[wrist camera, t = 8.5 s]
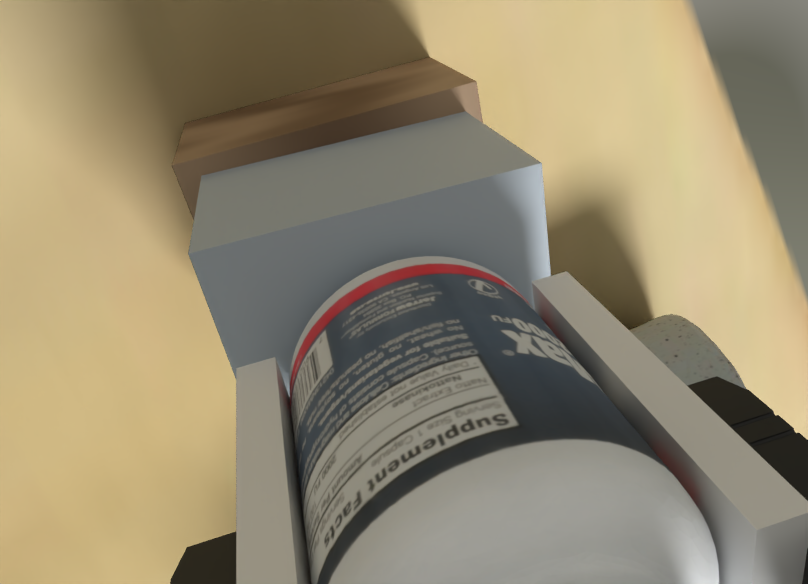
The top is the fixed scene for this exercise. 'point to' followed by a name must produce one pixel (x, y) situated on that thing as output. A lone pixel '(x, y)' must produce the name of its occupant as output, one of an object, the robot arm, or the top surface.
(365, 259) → the tower top
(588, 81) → the top surface
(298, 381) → the pill bottle
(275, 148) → the tower base
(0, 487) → the top surface
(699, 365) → the ceramic mug
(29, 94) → the top surface
